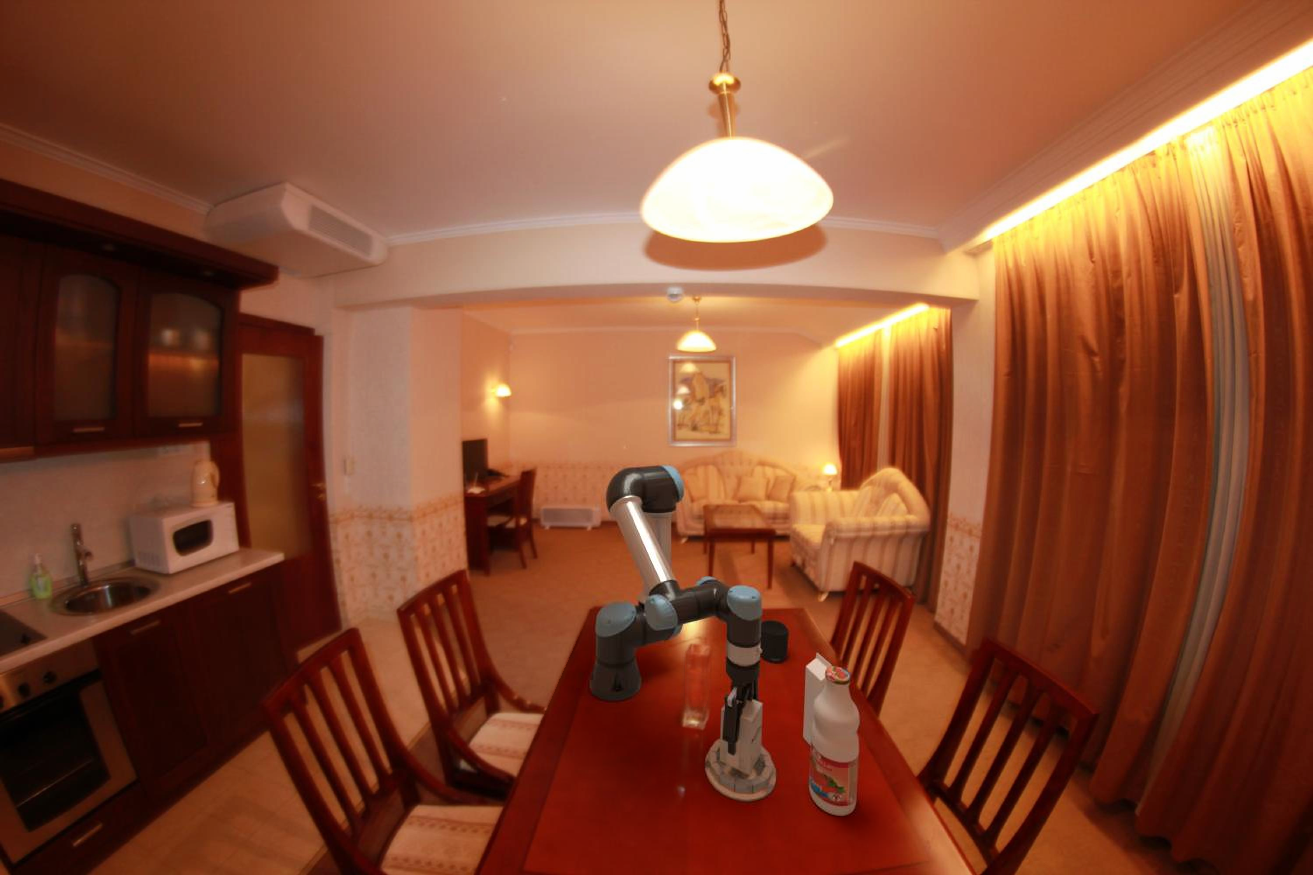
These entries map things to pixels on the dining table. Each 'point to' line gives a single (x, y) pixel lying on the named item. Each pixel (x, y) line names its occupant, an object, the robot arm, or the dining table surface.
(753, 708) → the supplement box
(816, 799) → the fruit juice
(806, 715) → the milk
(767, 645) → the black smart speaker
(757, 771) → the silver round shallow dish
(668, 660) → the dining table surface
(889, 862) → the dining table surface
